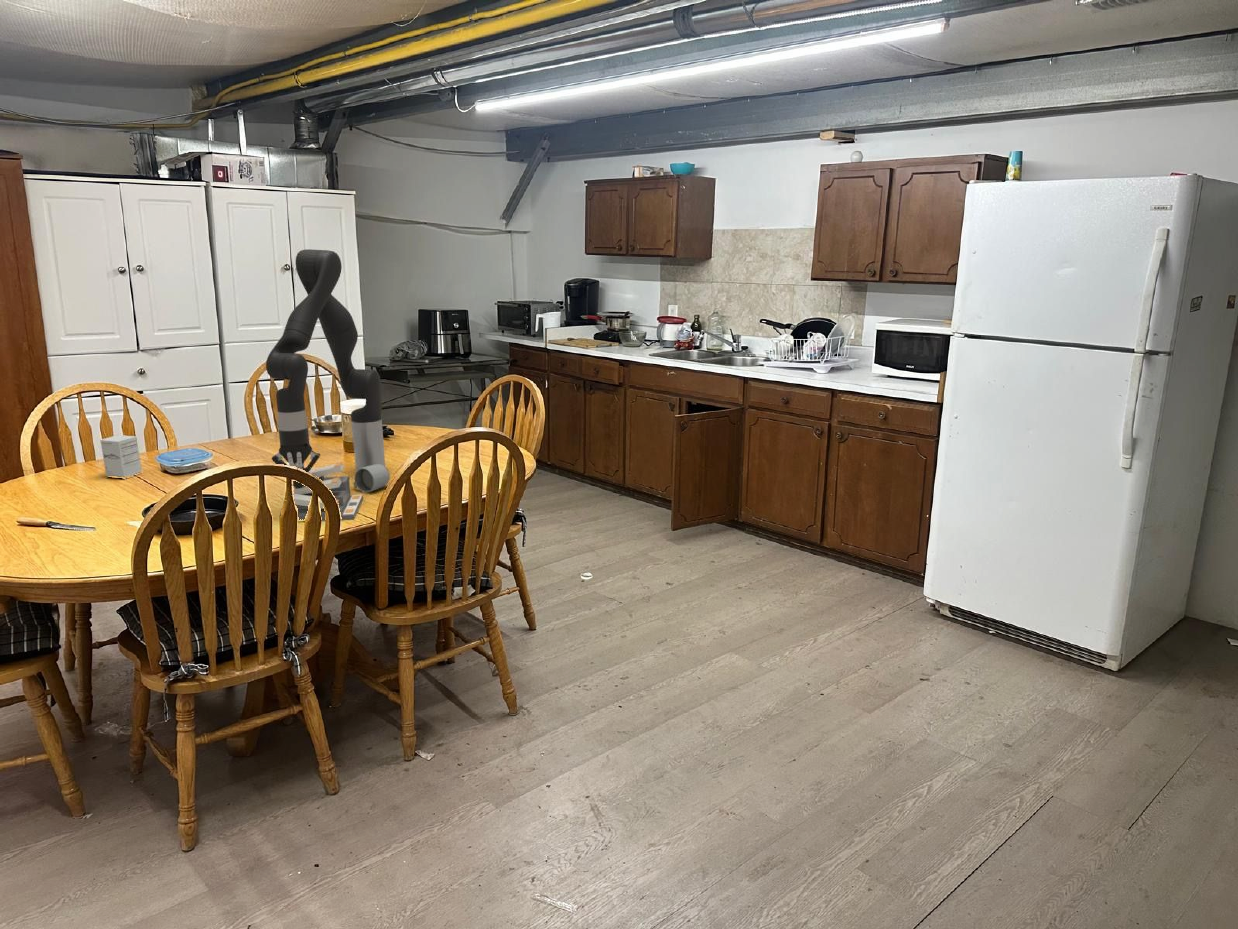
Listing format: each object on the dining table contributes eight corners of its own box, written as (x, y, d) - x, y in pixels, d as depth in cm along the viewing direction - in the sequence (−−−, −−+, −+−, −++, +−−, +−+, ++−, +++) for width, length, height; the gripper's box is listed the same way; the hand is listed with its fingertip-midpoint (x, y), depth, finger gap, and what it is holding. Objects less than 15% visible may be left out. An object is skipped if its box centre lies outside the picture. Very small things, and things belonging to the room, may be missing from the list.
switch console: (299, 501, 247) (296, 474, 244) (363, 498, 249) (360, 471, 247) (284, 522, 229) (281, 493, 227) (354, 519, 232) (351, 490, 230)
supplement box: (105, 478, 269) (98, 439, 266) (125, 472, 276) (118, 434, 273) (124, 480, 267) (117, 441, 264) (143, 474, 274) (137, 435, 270)
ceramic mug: (392, 487, 260) (390, 462, 258) (374, 494, 253) (372, 469, 251) (365, 483, 264) (363, 459, 262) (347, 490, 257) (344, 466, 255)
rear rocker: (302, 477, 244) (300, 471, 243) (343, 467, 245) (342, 461, 244) (299, 481, 240) (297, 475, 239) (341, 471, 241) (339, 465, 240)
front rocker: (292, 499, 233) (293, 493, 233) (338, 505, 235) (338, 499, 235) (289, 503, 229) (290, 497, 229) (335, 510, 231) (336, 504, 231)
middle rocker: (298, 491, 239) (296, 485, 238) (341, 483, 240) (339, 477, 239) (295, 495, 235) (293, 489, 234) (338, 487, 236) (337, 481, 235)
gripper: (321, 422, 236) (326, 482, 241) (271, 424, 234) (277, 484, 239) (315, 429, 229) (321, 490, 234) (264, 430, 227) (271, 492, 232)
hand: (299, 487), depth 236 cm, fingers closed
